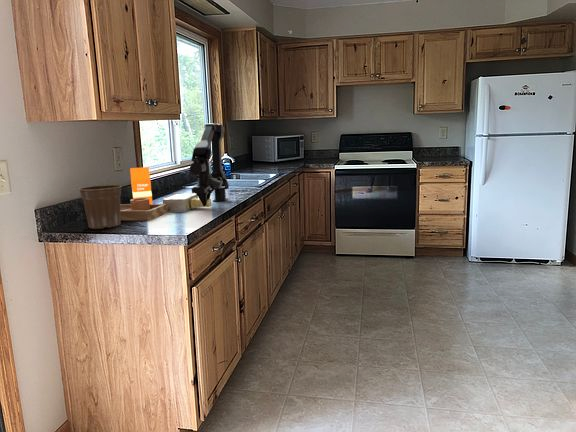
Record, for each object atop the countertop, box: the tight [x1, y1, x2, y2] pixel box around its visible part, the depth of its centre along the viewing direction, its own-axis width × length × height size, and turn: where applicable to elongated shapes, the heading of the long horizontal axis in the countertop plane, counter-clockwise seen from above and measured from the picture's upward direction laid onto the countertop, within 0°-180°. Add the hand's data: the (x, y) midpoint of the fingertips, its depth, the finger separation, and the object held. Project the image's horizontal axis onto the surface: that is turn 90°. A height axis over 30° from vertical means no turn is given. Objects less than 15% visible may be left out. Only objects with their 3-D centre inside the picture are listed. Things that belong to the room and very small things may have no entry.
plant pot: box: [78, 184, 123, 230], centre depth 182 cm, size 16×16×16 cm
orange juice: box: [130, 166, 154, 204], centre depth 223 cm, size 8×9×20 cm
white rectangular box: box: [162, 193, 199, 213], centre depth 217 cm, size 16×11×6 cm
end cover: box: [190, 197, 212, 209], centre depth 216 cm, size 5×16×4 cm, turn 80°
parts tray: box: [120, 203, 169, 221], centre depth 203 cm, size 17×26×4 cm, turn 80°
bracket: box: [121, 198, 150, 211], centre depth 202 cm, size 18×8×7 cm, turn 145°
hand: (206, 205), depth 215 cm, fingers closed on end cover, 3 cm apart
